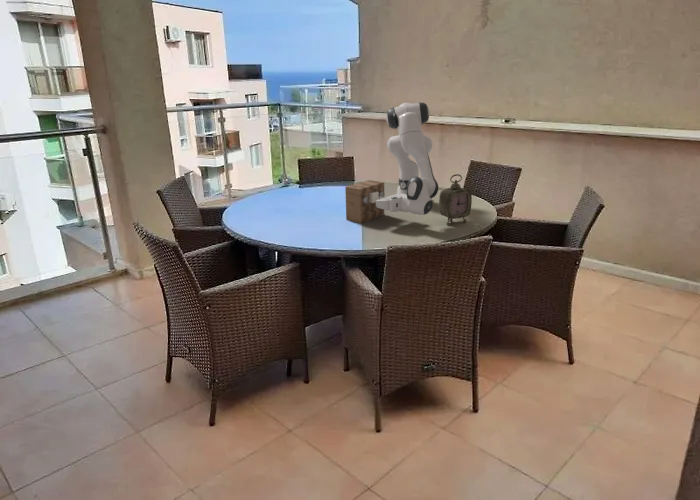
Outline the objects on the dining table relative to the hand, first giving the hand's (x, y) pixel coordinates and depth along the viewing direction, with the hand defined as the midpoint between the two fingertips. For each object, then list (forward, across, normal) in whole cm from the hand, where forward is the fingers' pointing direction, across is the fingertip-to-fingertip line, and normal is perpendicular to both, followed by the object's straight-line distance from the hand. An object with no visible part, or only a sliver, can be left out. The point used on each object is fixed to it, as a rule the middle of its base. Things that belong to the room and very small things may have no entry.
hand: (380, 198), depth 250 cm
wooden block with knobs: (+9, 0, +12) cm, 15 cm away
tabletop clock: (-32, -20, +12) cm, 40 cm away
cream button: (+5, 0, +3) cm, 6 cm away
